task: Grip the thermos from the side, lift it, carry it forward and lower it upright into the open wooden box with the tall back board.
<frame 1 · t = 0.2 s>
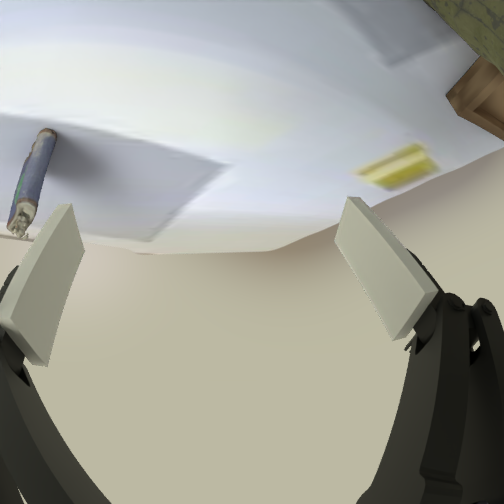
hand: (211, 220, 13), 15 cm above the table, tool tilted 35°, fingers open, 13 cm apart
flask: (40, 149, 24), on the table
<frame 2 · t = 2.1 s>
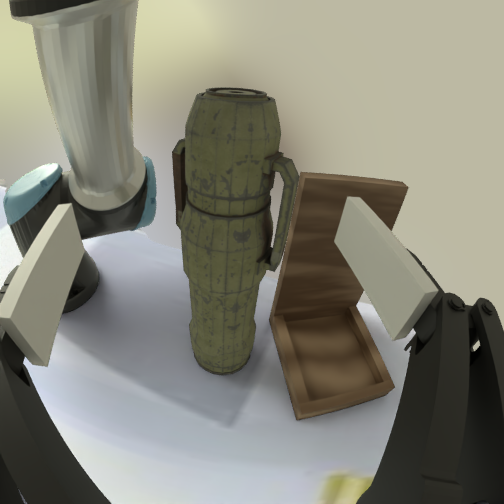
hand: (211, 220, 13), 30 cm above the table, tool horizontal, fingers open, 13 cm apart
thermos: (221, 350, 41), on the table
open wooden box: (327, 358, 41), on the table
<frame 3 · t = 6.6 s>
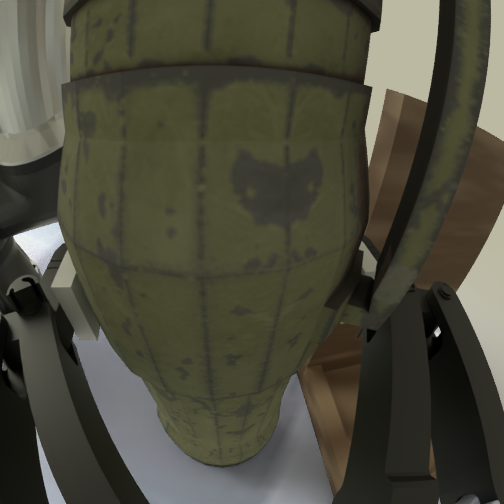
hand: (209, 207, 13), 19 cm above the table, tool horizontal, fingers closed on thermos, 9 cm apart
thermos: (219, 424, 22), on the table, touching gripper
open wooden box: (385, 424, 22), on the table
when the fingers open (21 cm above the table, at t = 13.0 s): thermos moves 2 cm, resting on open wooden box.
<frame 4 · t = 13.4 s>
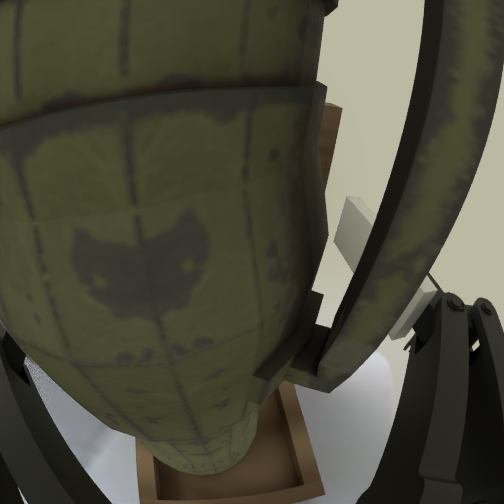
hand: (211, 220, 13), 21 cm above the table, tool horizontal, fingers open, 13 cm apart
thermos: (200, 432, 21), point 2 cm above the table, touching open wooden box, gripper
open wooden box: (218, 428, 23), on the table
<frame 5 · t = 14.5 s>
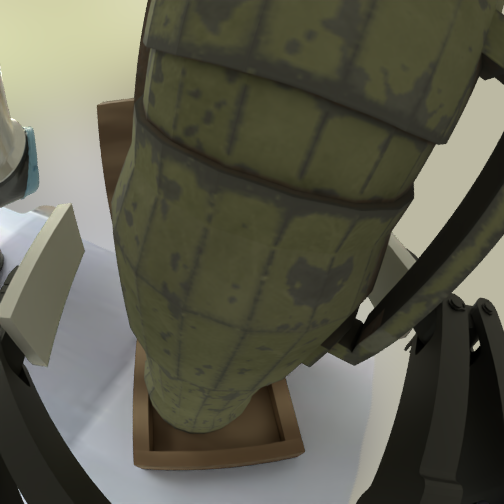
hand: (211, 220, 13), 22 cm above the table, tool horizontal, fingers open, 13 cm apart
thermos: (194, 393, 25), point 2 cm above the table, touching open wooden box
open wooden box: (209, 389, 27), on the table
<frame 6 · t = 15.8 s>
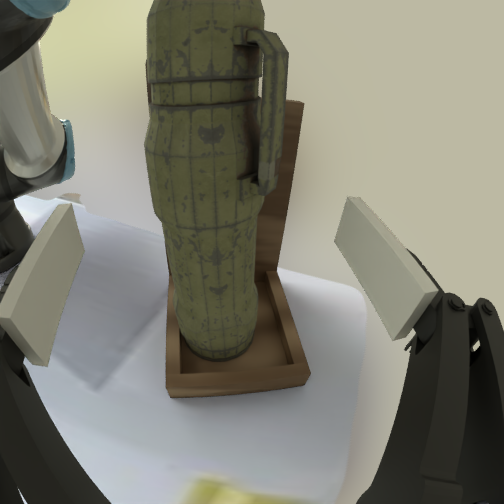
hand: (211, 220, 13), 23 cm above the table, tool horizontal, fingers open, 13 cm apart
thermos: (218, 331, 33), point 1 cm above the table, touching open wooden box
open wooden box: (229, 330, 35), on the table
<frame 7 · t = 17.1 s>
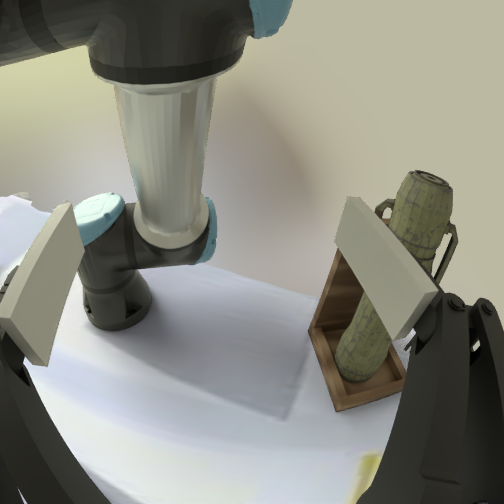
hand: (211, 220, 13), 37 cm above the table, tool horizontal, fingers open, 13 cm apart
thermos: (353, 364, 46), point 1 cm above the table, touching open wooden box
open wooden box: (356, 361, 48), on the table
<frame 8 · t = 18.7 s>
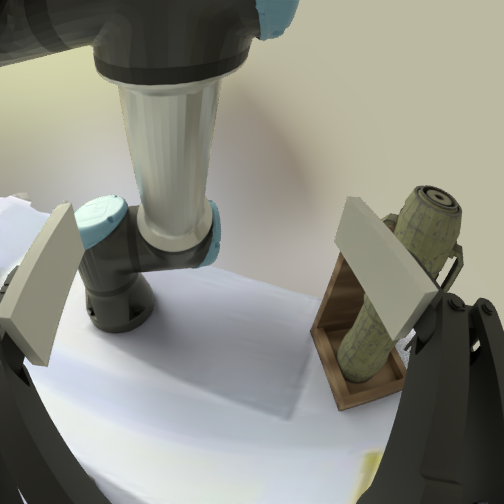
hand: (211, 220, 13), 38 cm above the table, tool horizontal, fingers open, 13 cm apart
thermos: (355, 363, 47), point 1 cm above the table, touching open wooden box
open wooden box: (358, 361, 49), on the table
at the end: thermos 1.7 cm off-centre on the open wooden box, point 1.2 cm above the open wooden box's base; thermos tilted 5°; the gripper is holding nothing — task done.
